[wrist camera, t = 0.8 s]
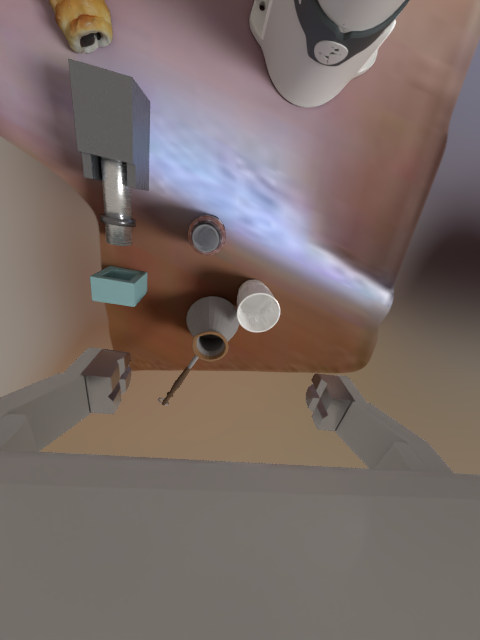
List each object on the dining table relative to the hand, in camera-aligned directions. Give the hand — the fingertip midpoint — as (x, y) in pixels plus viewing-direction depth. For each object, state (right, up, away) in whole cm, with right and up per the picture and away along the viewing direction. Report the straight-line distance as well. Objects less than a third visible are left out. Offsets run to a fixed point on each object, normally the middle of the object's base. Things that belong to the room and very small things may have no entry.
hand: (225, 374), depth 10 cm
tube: (-19, +25, +27) cm, 42 cm away
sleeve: (-18, +30, +26) cm, 44 cm away
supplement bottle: (-5, +20, +33) cm, 39 cm away
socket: (-22, +11, +36) cm, 44 cm away
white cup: (+3, +8, +40) cm, 41 cm away
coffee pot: (-9, 0, +43) cm, 44 cm away
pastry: (-20, +43, +20) cm, 52 cm away
